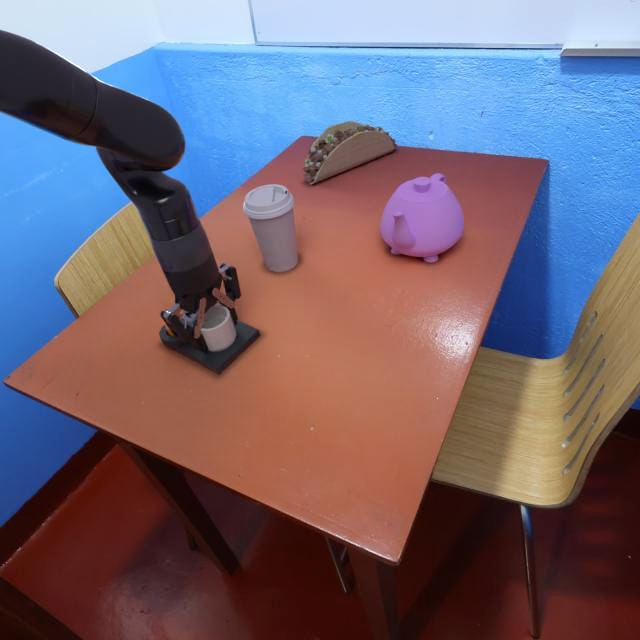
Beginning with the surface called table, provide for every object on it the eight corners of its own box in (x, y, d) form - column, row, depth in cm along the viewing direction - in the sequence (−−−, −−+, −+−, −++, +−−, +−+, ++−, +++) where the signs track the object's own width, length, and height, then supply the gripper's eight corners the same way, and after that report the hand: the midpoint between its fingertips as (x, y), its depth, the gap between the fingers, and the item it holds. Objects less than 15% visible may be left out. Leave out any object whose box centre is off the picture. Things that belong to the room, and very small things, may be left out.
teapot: (434, 290, 82) (437, 222, 73) (357, 270, 89) (350, 205, 80) (478, 226, 94) (485, 160, 85) (406, 212, 102) (406, 151, 92)
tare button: (175, 338, 78) (172, 331, 77) (165, 333, 79) (162, 326, 78) (186, 328, 79) (183, 322, 78) (176, 323, 81) (173, 317, 80)
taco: (297, 178, 121) (290, 139, 114) (382, 144, 129) (380, 106, 122) (317, 191, 114) (311, 151, 107) (404, 154, 122) (404, 115, 115)
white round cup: (218, 358, 75) (209, 336, 72) (193, 344, 78) (183, 322, 75) (245, 333, 78) (237, 311, 75) (219, 321, 81) (210, 300, 78)
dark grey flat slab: (215, 378, 74) (210, 365, 72) (159, 346, 81) (152, 334, 79) (260, 335, 80) (256, 322, 78) (203, 309, 87) (198, 297, 85)
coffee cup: (294, 280, 90) (279, 210, 79) (250, 274, 93) (230, 206, 83) (312, 251, 96) (301, 183, 86) (271, 246, 99) (255, 180, 89)
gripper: (203, 222, 72) (231, 304, 84) (128, 274, 65) (170, 356, 76) (238, 234, 68) (262, 317, 80) (162, 290, 61) (201, 374, 72)
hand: (217, 336), depth 78 cm, fingers closed on white round cup, 6 cm apart
